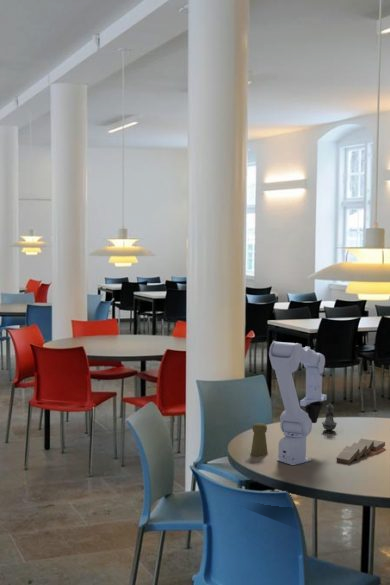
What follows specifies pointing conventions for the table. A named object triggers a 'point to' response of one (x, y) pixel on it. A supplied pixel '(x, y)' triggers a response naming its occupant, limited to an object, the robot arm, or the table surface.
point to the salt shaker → (329, 420)
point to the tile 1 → (347, 455)
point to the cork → (259, 440)
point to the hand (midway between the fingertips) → (313, 422)
